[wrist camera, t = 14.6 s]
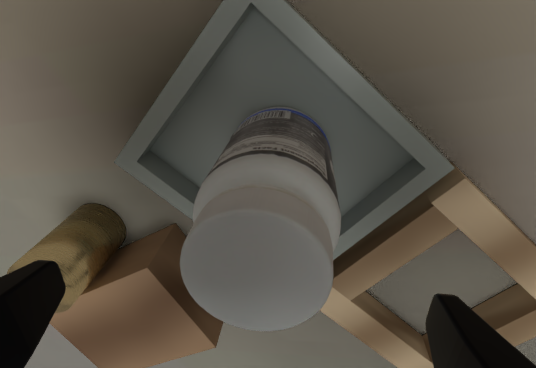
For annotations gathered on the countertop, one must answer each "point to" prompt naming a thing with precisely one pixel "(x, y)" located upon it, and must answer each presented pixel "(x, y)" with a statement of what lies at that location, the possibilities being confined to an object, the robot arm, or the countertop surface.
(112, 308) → the brown cardboard box
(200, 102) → the tray
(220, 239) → the pill bottle
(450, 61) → the countertop surface
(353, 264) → the socket collar
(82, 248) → the bench dog
